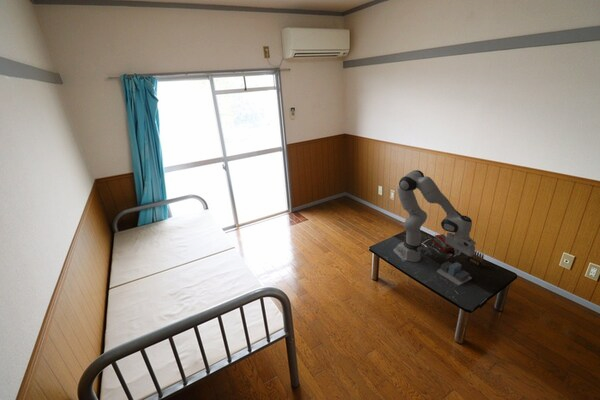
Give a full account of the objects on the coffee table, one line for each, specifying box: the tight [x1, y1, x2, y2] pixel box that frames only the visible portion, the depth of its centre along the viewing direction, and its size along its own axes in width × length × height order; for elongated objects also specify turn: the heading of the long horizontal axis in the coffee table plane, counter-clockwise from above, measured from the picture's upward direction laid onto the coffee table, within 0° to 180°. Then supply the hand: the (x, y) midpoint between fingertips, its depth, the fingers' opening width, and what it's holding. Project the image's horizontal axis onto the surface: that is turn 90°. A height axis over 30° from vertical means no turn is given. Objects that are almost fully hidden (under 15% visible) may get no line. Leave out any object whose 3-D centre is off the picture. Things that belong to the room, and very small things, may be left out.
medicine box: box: [433, 233, 454, 253], centre depth 237 cm, size 15×8×8 cm, turn 10°
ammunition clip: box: [466, 250, 485, 269], centre depth 213 cm, size 11×2×12 cm, turn 28°
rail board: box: [436, 261, 473, 287], centre depth 205 cm, size 18×14×6 cm
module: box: [448, 261, 463, 276], centre depth 204 cm, size 4×8×7 cm, turn 117°
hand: (457, 254), depth 199 cm, fingers closed
